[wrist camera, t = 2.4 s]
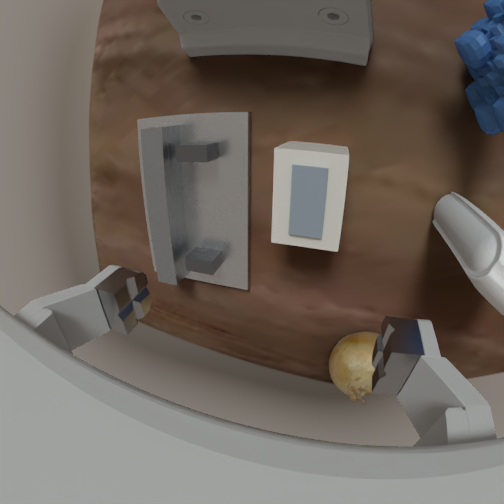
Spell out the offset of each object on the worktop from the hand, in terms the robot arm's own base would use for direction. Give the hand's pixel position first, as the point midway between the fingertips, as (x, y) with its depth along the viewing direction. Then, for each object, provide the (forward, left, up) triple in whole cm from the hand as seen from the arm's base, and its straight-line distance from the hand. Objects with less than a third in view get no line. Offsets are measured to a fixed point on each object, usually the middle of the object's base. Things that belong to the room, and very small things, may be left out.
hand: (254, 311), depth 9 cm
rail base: (+12, +3, -18) cm, 22 cm away
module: (0, 0, -18) cm, 18 cm away
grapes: (-13, -13, -18) cm, 26 cm away
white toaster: (+4, -15, -19) cm, 24 cm away
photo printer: (-16, +2, -18) cm, 25 cm away
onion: (-8, +18, -18) cm, 27 cm away
